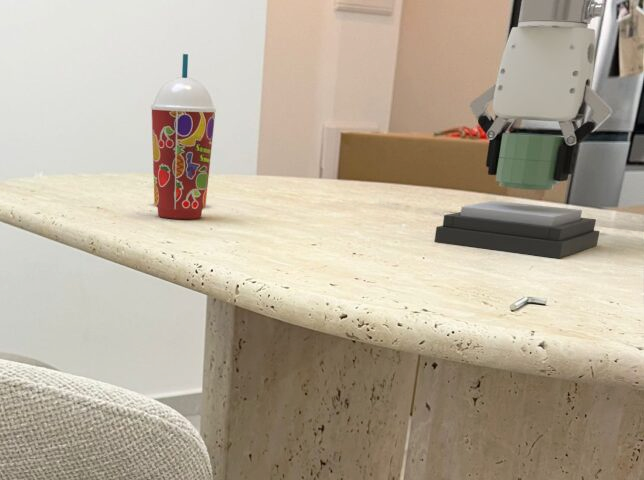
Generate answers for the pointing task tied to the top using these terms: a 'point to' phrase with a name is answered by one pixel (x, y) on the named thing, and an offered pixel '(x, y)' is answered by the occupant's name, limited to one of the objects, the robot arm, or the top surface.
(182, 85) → the smoothie
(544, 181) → the green stacked cylinder
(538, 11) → the robot arm
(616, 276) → the top surface
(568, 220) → the pan
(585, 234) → the scale
